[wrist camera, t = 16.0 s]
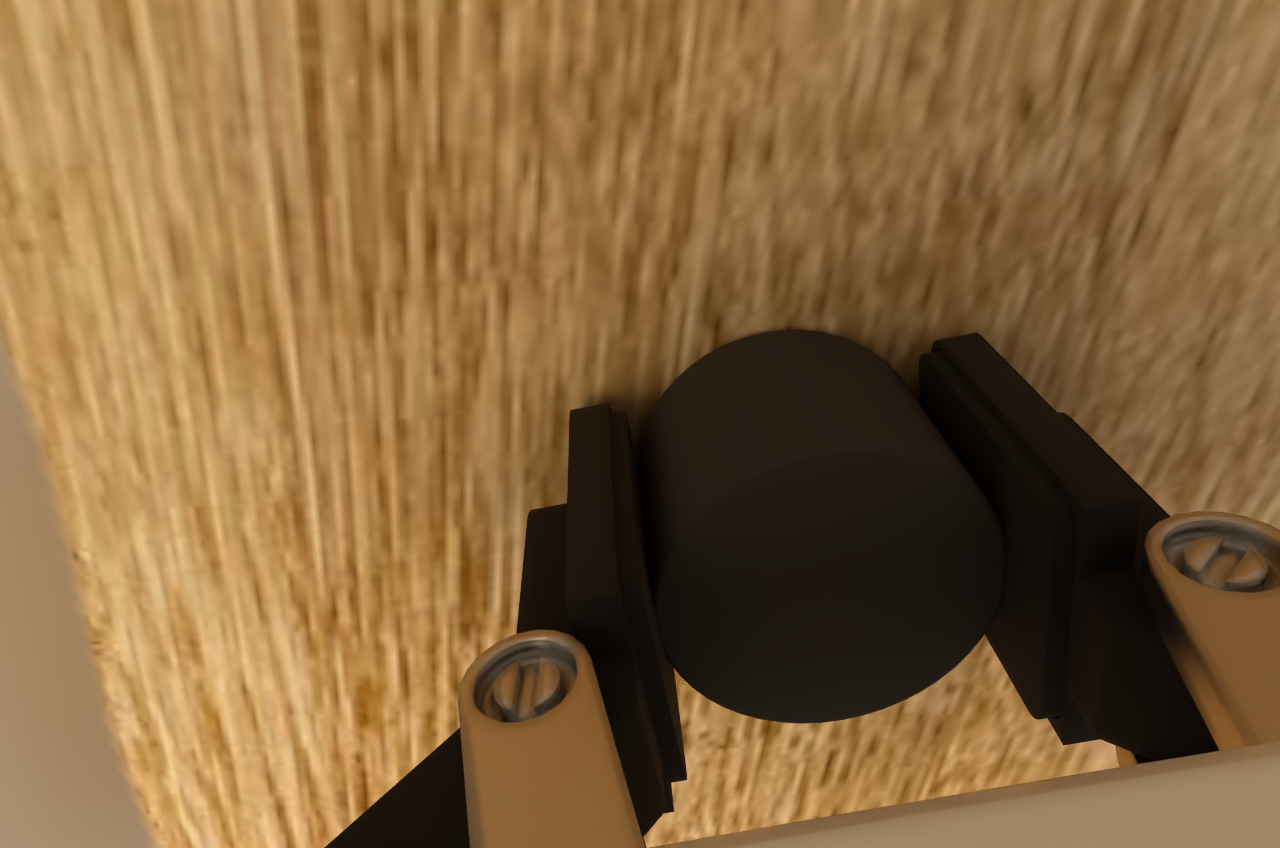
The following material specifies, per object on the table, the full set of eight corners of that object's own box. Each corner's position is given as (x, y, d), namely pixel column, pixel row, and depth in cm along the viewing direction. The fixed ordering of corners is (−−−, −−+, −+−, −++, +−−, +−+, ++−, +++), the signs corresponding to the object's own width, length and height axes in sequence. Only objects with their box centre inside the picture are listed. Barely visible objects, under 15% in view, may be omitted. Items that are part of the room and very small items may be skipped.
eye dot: (611, 359, 11) (621, 487, 9) (916, 301, 11) (1017, 413, 8) (662, 589, 13) (682, 750, 11) (921, 543, 13) (1005, 694, 10)
